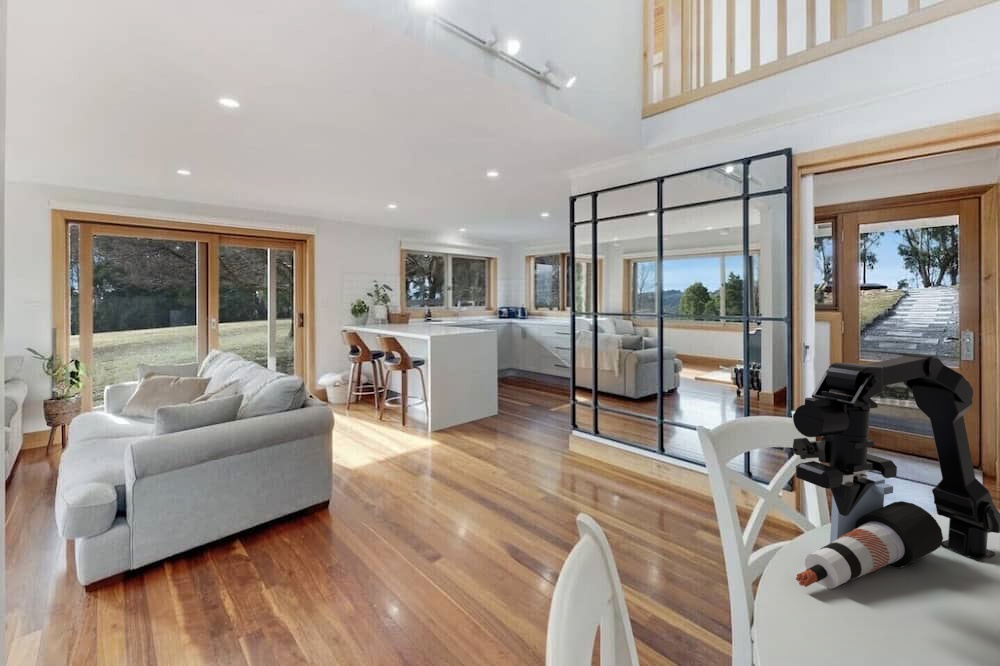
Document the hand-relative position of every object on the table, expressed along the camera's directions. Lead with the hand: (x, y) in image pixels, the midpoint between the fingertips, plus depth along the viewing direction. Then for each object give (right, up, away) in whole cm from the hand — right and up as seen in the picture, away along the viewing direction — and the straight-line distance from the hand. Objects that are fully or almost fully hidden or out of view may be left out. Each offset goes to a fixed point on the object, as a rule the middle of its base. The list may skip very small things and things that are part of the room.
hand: (843, 514), depth 84 cm
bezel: (+14, -12, +13) cm, 23 cm away
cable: (+7, -13, +5) cm, 16 cm away
